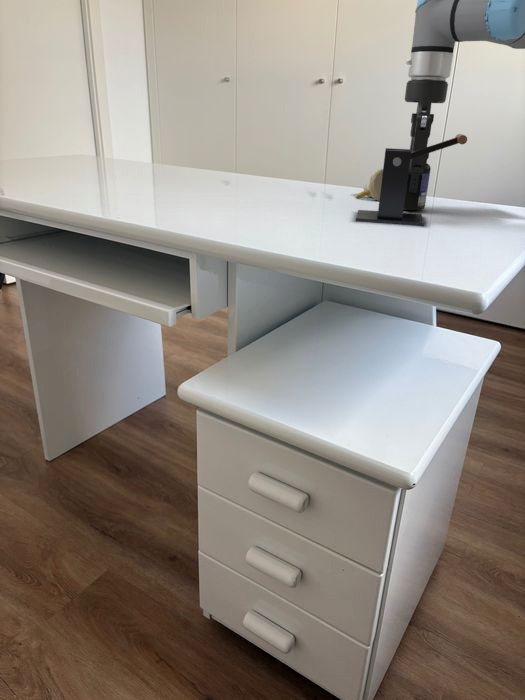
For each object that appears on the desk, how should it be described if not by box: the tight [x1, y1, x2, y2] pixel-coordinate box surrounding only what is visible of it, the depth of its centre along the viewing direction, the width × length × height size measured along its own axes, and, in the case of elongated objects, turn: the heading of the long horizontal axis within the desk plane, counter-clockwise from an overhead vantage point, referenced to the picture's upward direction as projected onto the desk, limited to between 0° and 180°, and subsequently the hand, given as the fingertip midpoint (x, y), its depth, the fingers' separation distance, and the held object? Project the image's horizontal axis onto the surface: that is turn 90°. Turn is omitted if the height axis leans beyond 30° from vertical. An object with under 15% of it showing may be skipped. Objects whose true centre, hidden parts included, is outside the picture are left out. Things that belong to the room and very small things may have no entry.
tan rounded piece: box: [354, 168, 383, 202], centre depth 123 cm, size 8×10×10 cm
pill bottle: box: [404, 150, 431, 211], centre depth 107 cm, size 6×6×11 cm
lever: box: [411, 133, 468, 159], centre depth 94 cm, size 13×5×2 cm, turn 79°
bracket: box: [355, 147, 425, 227], centre depth 97 cm, size 12×9×13 cm
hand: (409, 205), depth 109 cm, fingers closed on pill bottle, 6 cm apart
